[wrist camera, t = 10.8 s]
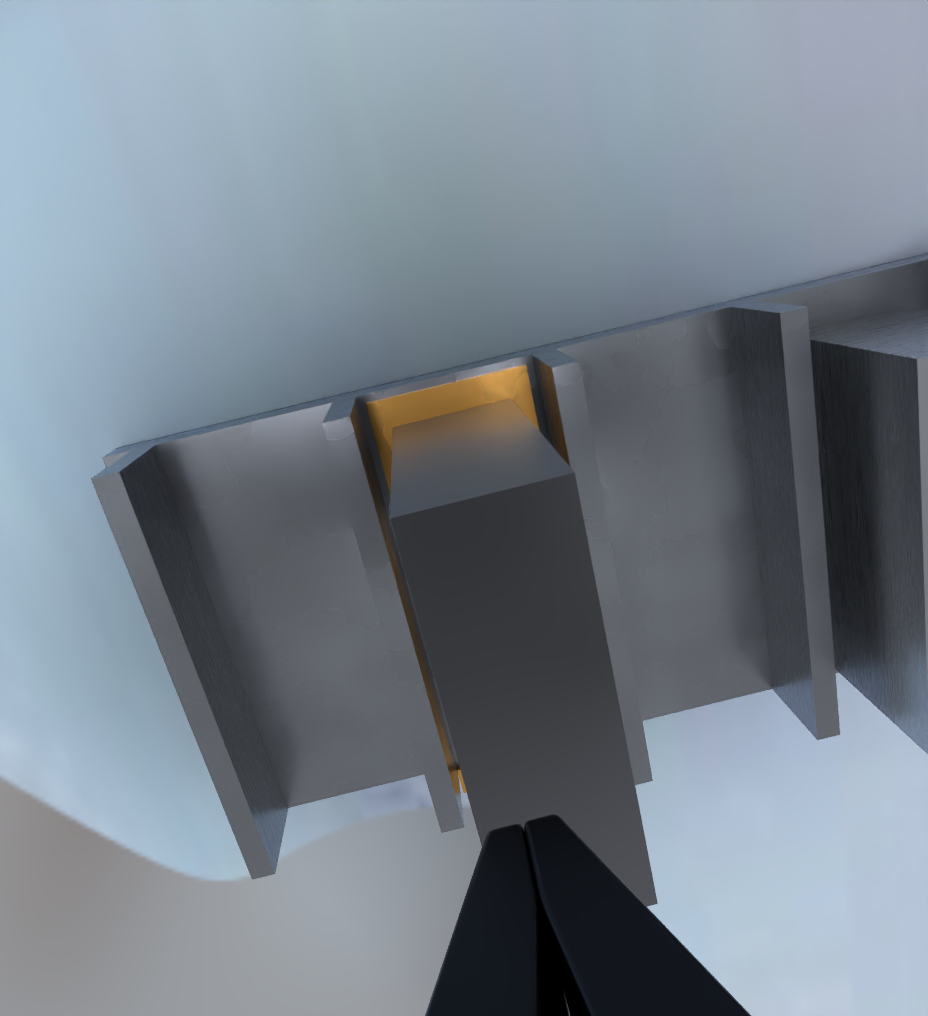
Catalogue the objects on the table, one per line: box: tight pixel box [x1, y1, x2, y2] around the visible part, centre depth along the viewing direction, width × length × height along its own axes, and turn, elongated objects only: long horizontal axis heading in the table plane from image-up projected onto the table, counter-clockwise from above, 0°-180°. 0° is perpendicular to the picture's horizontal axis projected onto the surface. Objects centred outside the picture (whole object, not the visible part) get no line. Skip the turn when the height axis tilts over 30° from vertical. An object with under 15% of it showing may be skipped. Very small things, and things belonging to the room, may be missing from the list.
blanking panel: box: [390, 398, 658, 906], centre depth 17 cm, size 3×9×7 cm, turn 13°
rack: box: [91, 253, 928, 879], centre depth 18 cm, size 22×12×6 cm, turn 103°
